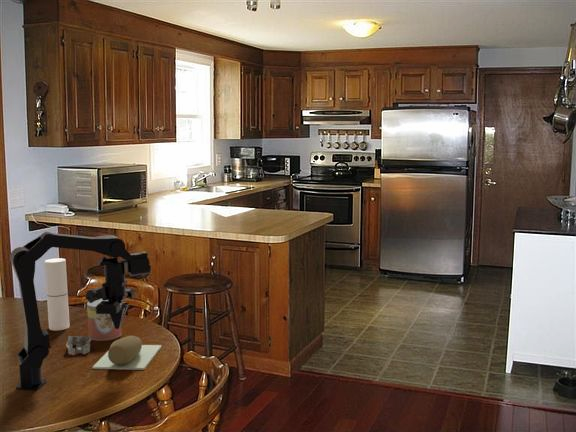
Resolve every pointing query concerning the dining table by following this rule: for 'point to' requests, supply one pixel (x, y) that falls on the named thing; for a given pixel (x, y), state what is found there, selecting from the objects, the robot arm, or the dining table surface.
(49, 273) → the cylindrical container
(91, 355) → the dining table surface
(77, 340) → the egg carton
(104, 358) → the mat
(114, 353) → the tan nozzle bottle
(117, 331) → the canned food
